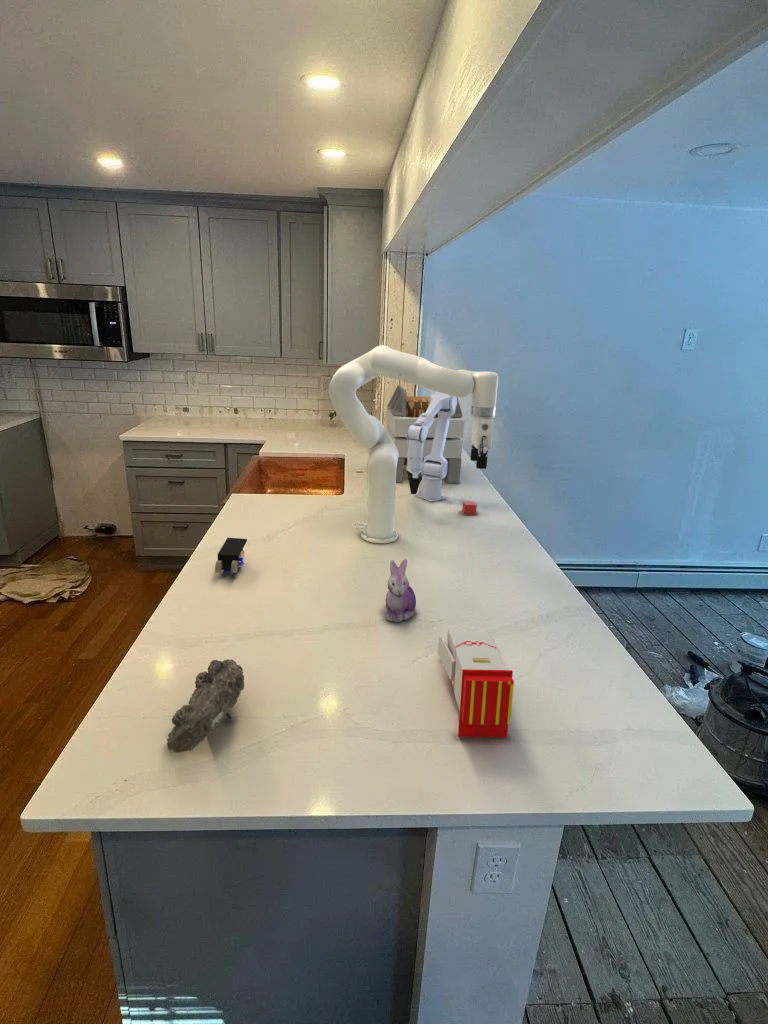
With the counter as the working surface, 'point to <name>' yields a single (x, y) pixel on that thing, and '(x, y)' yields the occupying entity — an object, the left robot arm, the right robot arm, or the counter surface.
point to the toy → (478, 682)
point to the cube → (469, 508)
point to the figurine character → (230, 556)
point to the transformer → (406, 413)
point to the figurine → (399, 594)
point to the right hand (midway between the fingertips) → (413, 490)
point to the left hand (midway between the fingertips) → (478, 464)
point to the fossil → (206, 705)
